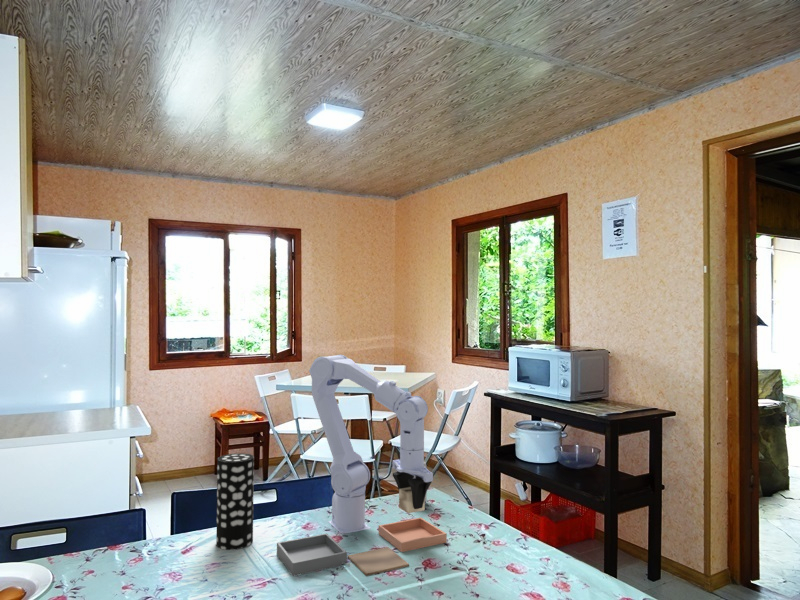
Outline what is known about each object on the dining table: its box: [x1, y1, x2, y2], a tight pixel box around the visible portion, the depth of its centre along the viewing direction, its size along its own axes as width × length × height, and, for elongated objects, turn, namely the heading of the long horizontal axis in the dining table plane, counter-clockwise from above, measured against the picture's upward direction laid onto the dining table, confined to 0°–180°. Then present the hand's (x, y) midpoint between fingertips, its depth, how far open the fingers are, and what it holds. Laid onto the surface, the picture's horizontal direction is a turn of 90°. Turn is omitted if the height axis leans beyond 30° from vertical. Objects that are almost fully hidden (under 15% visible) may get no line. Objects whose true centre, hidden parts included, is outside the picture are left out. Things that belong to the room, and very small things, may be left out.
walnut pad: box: [347, 546, 410, 577], centre depth 123 cm, size 10×10×1 cm
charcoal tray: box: [276, 533, 348, 577], centre depth 126 cm, size 12×12×3 cm
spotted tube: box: [215, 452, 255, 551], centre depth 135 cm, size 8×8×20 cm
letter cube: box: [398, 487, 426, 514], centre depth 136 cm, size 4×4×5 cm
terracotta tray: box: [378, 517, 447, 553], centre depth 136 cm, size 12×12×3 cm
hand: (411, 504), depth 136 cm, fingers closed on letter cube, 5 cm apart
